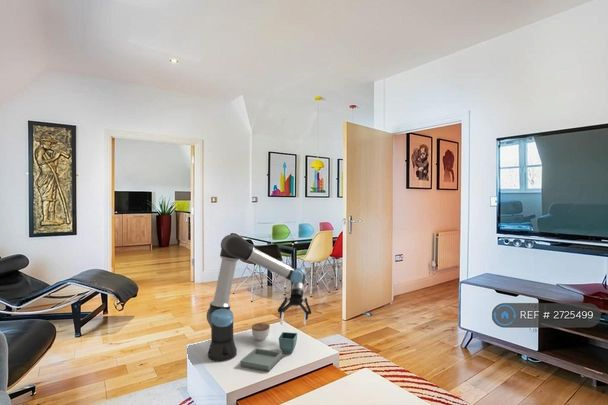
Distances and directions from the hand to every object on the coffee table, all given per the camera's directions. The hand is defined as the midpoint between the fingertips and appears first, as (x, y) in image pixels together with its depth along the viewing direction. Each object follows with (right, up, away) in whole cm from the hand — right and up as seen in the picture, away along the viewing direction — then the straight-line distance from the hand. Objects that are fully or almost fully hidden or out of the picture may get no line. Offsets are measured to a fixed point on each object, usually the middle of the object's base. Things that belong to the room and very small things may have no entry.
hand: (292, 324), depth 190 cm
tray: (-15, -12, -20) cm, 28 cm away
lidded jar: (-20, -13, +10) cm, 26 cm away
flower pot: (-2, -12, -8) cm, 15 cm away
